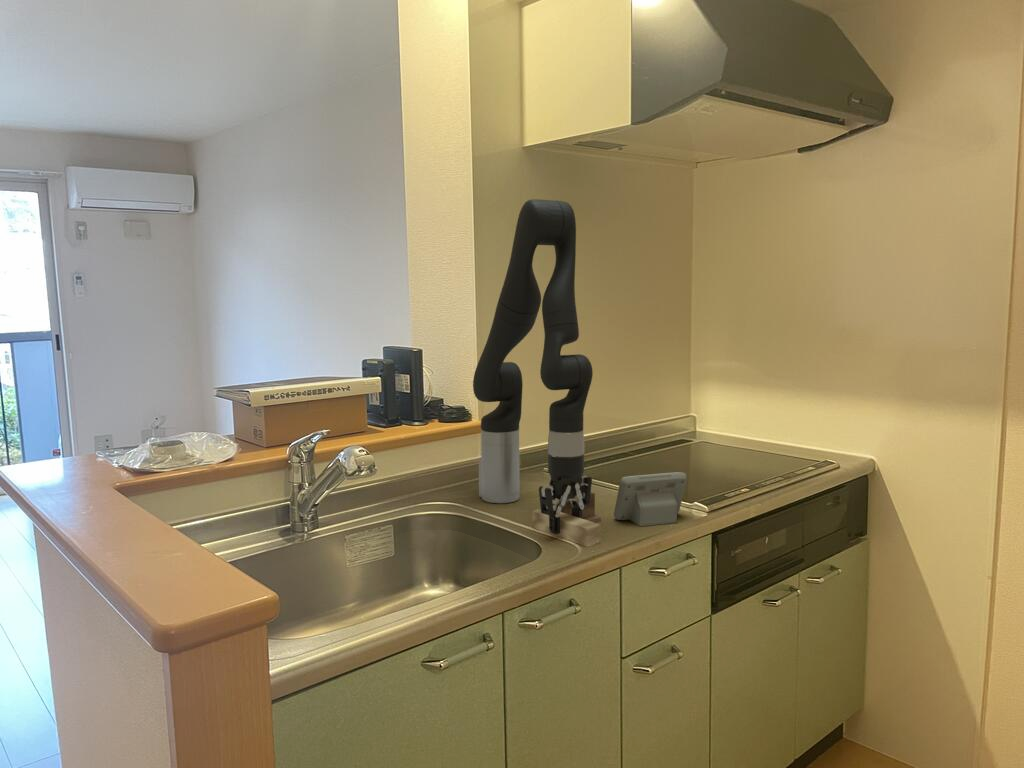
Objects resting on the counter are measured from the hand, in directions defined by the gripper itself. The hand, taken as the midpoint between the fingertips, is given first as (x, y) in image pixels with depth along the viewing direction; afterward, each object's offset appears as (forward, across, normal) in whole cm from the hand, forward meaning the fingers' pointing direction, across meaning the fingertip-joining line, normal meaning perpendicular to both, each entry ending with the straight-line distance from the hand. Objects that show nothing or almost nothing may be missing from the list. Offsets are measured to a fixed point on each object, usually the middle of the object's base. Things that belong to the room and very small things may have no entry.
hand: (565, 529), depth 163 cm
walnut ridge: (+1, -8, -4) cm, 9 cm away
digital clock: (+1, -21, +6) cm, 22 cm away
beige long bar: (+1, 0, 0) cm, 1 cm away
